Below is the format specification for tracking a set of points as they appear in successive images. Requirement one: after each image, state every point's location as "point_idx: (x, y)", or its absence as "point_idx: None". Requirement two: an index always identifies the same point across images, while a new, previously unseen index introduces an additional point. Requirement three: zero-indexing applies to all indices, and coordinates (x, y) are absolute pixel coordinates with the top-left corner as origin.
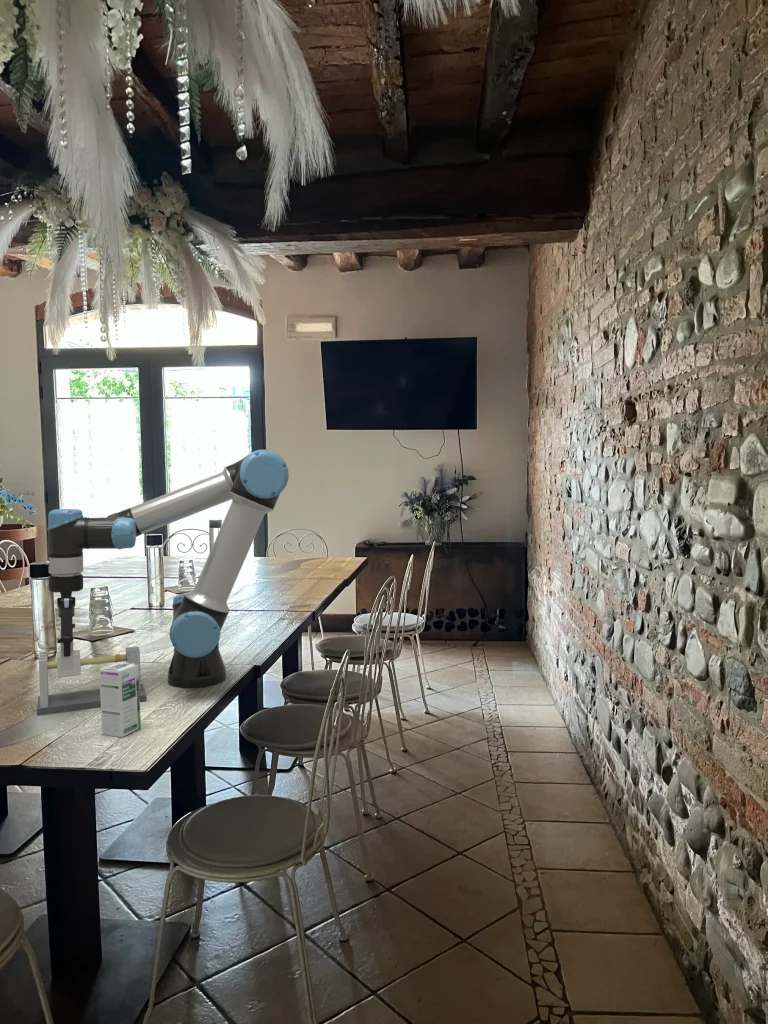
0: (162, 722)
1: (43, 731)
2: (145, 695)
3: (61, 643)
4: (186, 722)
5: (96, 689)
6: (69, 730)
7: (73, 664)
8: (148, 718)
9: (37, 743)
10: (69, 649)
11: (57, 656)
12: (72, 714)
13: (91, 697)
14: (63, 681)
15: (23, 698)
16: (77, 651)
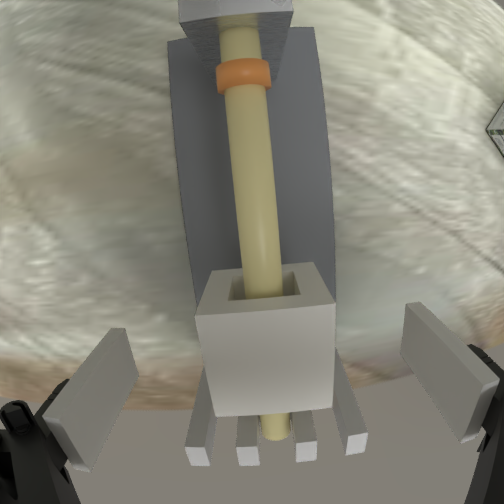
0: (482, 41)
1: (451, 305)
2: (313, 30)
3: (475, 429)
4: (486, 3)
5: (182, 192)
6: (471, 248)
7: (430, 312)
8: (455, 58)
9: (501, 303)
10: (494, 367)
11: (320, 407)
12: (363, 251)
13: (278, 203)
14: (36, 299)
15: (163, 384)
16: (238, 326)
